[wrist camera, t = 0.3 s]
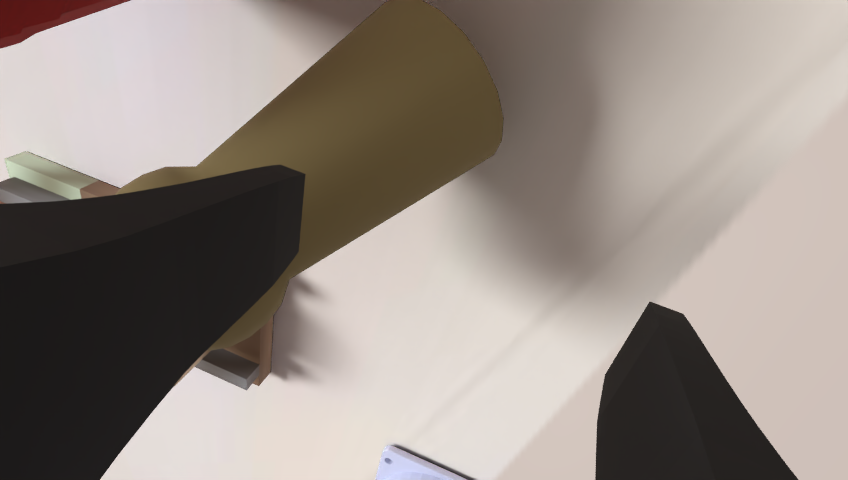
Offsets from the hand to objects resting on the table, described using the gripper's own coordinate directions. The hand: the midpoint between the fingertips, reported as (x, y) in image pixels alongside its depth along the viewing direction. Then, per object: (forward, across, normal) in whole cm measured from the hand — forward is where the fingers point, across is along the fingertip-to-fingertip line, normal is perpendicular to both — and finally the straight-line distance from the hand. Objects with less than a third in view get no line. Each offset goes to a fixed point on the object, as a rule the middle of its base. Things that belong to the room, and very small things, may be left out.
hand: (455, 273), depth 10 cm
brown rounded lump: (+8, +3, -1) cm, 9 cm away
